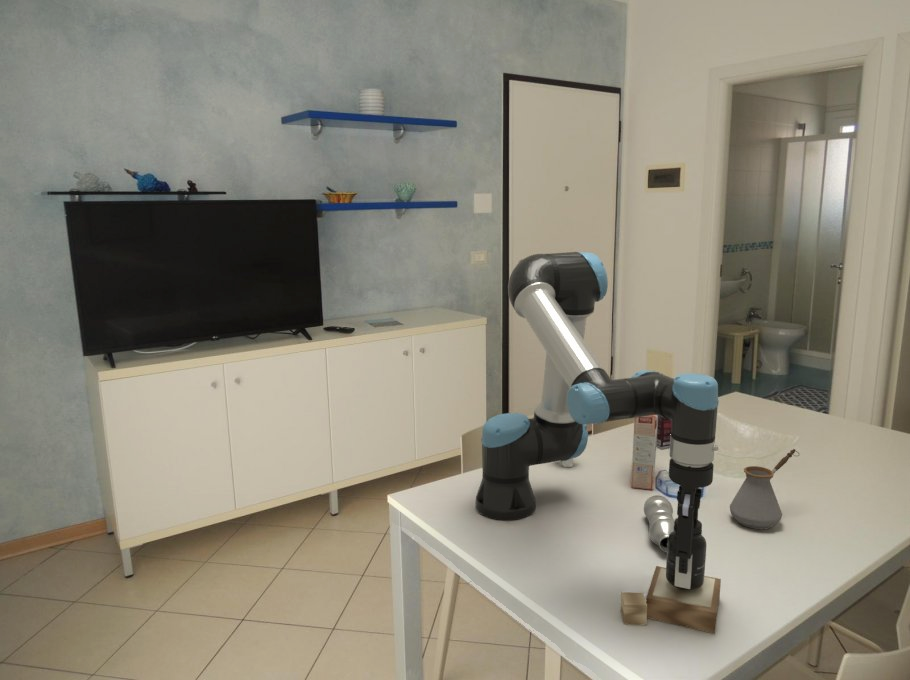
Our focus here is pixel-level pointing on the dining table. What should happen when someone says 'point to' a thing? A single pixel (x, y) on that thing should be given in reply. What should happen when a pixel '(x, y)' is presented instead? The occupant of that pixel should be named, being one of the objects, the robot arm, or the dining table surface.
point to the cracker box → (644, 451)
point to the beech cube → (633, 608)
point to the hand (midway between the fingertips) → (684, 576)
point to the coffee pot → (758, 497)
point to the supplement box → (663, 433)
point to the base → (684, 602)
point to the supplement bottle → (697, 556)
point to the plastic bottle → (659, 520)
